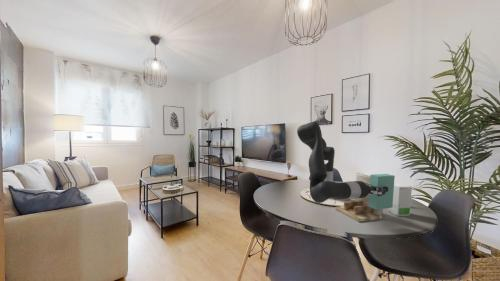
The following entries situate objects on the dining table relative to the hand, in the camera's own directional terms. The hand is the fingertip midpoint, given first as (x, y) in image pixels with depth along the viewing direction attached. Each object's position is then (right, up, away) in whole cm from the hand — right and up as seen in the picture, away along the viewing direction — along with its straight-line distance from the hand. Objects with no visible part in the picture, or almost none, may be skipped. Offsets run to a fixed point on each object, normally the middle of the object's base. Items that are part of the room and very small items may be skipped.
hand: (382, 187), depth 96 cm
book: (-1, -9, 0) cm, 9 cm away
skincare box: (+19, -18, +16) cm, 30 cm away
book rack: (-5, -17, +13) cm, 22 cm away
